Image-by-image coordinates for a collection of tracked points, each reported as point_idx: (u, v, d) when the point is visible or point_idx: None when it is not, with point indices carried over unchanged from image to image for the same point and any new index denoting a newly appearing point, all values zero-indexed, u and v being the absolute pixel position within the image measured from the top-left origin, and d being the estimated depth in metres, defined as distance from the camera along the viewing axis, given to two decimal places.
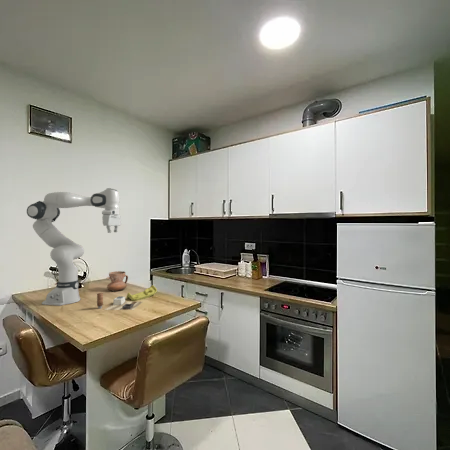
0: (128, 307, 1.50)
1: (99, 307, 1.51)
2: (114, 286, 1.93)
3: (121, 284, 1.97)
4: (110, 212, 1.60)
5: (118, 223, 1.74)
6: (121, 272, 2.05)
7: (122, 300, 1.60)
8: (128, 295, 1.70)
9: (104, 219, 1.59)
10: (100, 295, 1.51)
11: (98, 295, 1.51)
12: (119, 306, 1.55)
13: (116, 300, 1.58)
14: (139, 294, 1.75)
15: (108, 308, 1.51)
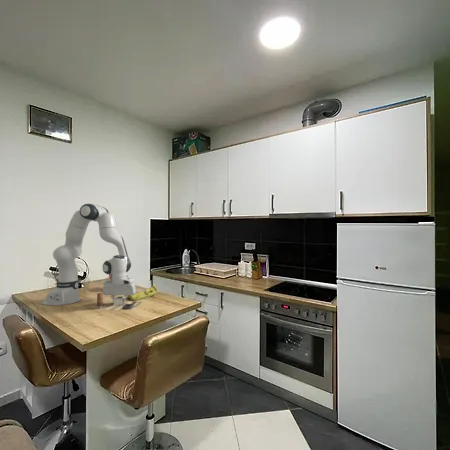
0: (128, 307, 1.50)
1: (99, 307, 1.51)
2: None
3: None
4: (133, 280, 1.63)
5: None
6: None
7: (122, 300, 1.60)
8: (128, 295, 1.70)
9: (133, 288, 1.60)
10: (100, 295, 1.51)
11: (98, 295, 1.51)
12: (119, 306, 1.55)
13: (116, 300, 1.58)
14: (140, 294, 1.75)
15: (108, 308, 1.51)
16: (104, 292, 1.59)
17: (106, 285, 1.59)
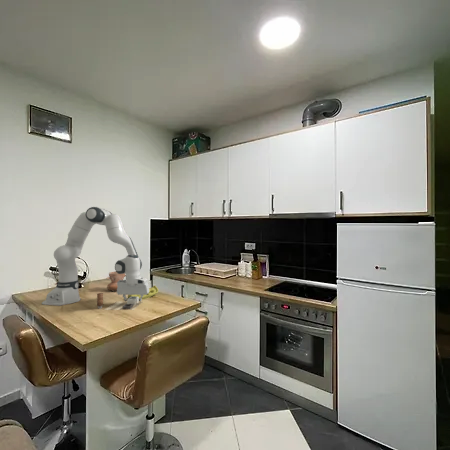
0: (128, 307, 1.50)
1: (99, 307, 1.51)
2: (114, 286, 1.93)
3: None
4: (147, 279, 1.63)
5: None
6: None
7: (136, 300, 1.59)
8: (129, 295, 1.70)
9: (147, 288, 1.60)
10: (100, 295, 1.51)
11: (98, 295, 1.51)
12: (119, 306, 1.55)
13: (130, 300, 1.58)
14: None
15: (108, 308, 1.51)
16: (118, 291, 1.59)
17: (120, 284, 1.59)
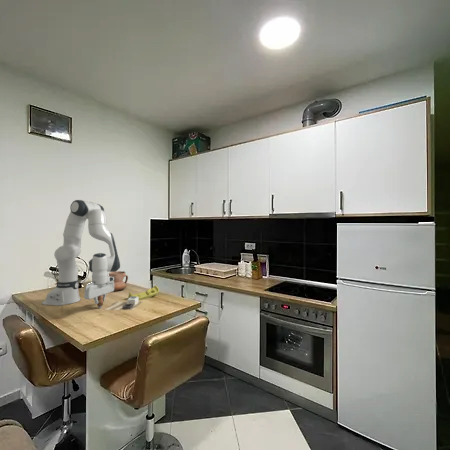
0: (128, 307, 1.50)
1: (99, 307, 1.51)
2: (114, 286, 1.93)
3: (121, 284, 1.97)
4: None
5: None
6: (121, 272, 2.05)
7: (136, 300, 1.59)
8: (129, 295, 1.71)
9: None
10: None
11: None
12: (119, 306, 1.55)
13: (130, 300, 1.58)
14: (141, 294, 1.75)
15: (108, 308, 1.51)
16: (90, 296, 1.43)
17: (91, 287, 1.44)
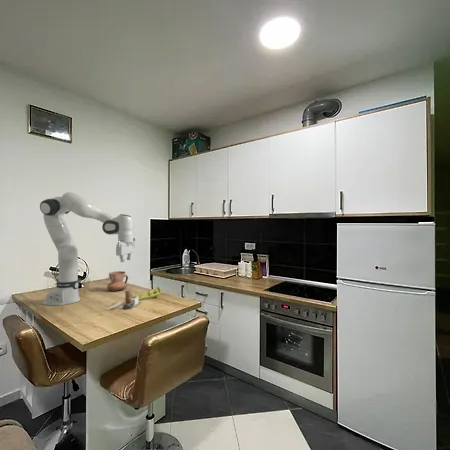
0: (128, 307, 1.50)
1: (128, 304, 1.52)
2: (114, 286, 1.93)
3: (121, 284, 1.97)
4: None
5: None
6: (121, 272, 2.05)
7: (136, 300, 1.59)
8: (131, 294, 1.71)
9: None
10: (129, 292, 1.52)
11: (127, 292, 1.51)
12: (119, 306, 1.55)
13: None
14: (143, 294, 1.74)
15: (108, 308, 1.51)
16: (122, 252, 1.50)
17: (123, 244, 1.51)
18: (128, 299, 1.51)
